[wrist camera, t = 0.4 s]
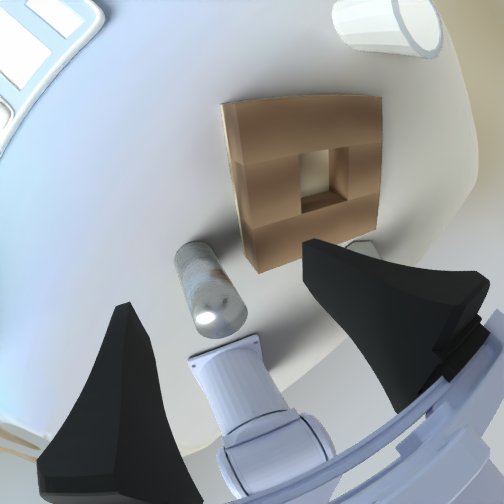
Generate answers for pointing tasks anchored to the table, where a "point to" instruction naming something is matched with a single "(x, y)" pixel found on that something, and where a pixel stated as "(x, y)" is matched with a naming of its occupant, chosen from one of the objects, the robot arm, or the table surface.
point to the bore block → (303, 171)
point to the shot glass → (390, 26)
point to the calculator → (38, 51)
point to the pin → (209, 291)
